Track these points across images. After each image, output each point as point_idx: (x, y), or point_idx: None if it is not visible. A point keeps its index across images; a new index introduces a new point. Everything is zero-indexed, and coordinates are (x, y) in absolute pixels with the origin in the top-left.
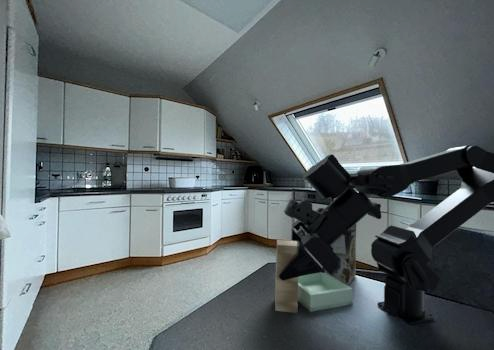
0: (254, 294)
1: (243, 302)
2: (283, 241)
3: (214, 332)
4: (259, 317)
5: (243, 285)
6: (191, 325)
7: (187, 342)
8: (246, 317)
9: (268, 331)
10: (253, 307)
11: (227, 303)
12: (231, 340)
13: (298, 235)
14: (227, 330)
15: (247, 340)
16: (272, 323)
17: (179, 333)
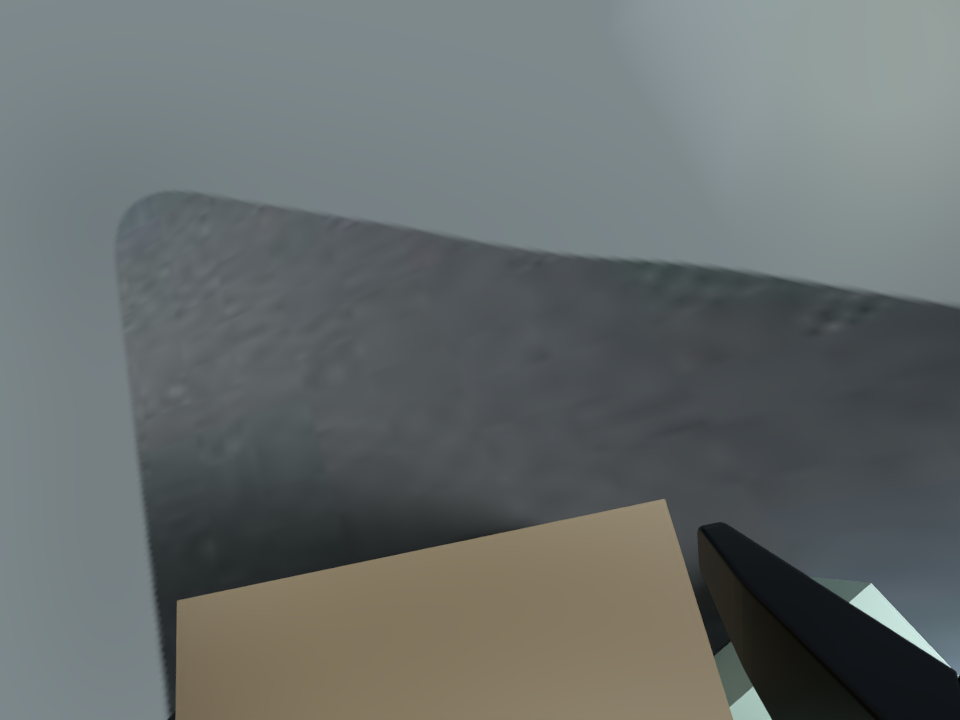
0: (583, 390)
1: (464, 359)
2: (567, 715)
3: (196, 328)
4: (349, 485)
5: (669, 289)
6: (222, 229)
7: (130, 267)
8: (331, 420)
9: (246, 560)
10: (433, 427)
11: (424, 287)
12: (161, 411)
13: None
14: (218, 372)
15: (170, 477)
16: (315, 568)
17: (171, 218)
